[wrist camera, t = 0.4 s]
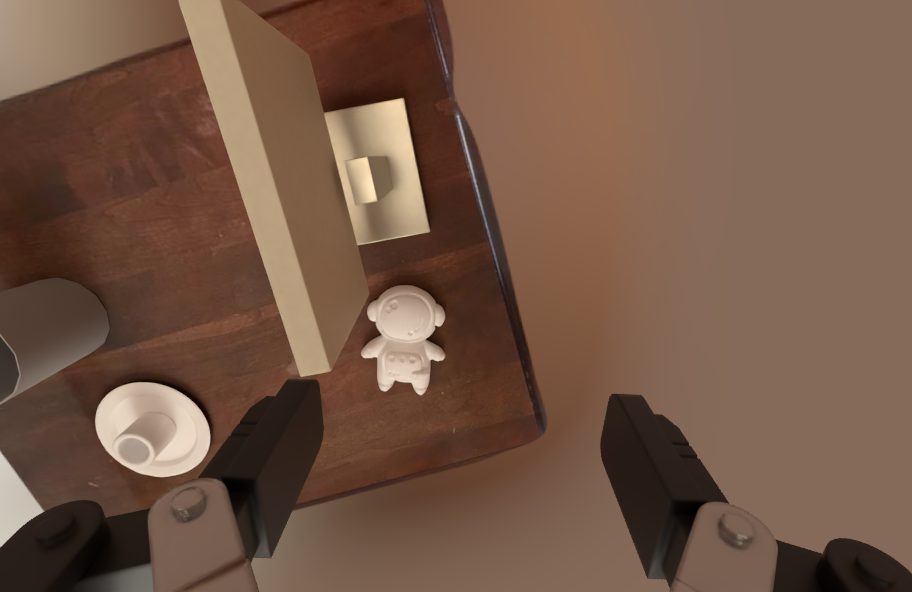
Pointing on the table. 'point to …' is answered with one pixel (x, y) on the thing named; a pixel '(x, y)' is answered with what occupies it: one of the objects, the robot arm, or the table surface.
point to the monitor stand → (378, 170)
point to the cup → (46, 331)
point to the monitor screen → (283, 174)
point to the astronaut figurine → (404, 336)
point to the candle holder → (152, 429)
